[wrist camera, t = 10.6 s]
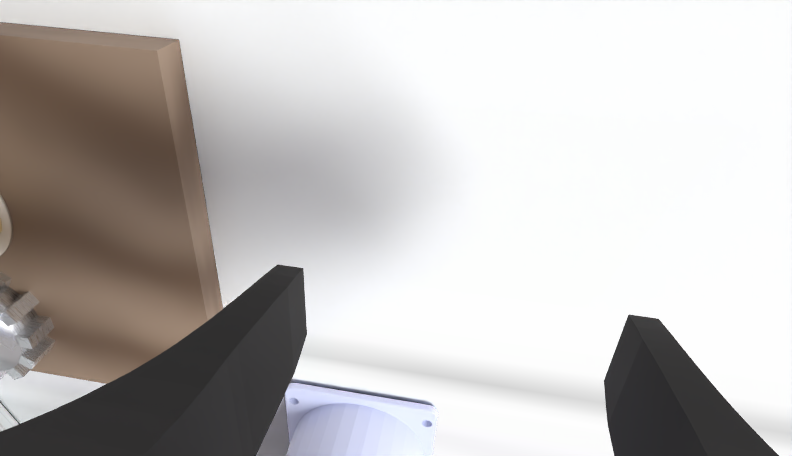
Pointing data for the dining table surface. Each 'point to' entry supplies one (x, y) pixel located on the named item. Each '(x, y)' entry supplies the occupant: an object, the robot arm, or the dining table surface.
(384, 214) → the dining table surface
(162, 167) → the gear board
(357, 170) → the dining table surface
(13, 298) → the gear
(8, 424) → the supplement box
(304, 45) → the dining table surface
